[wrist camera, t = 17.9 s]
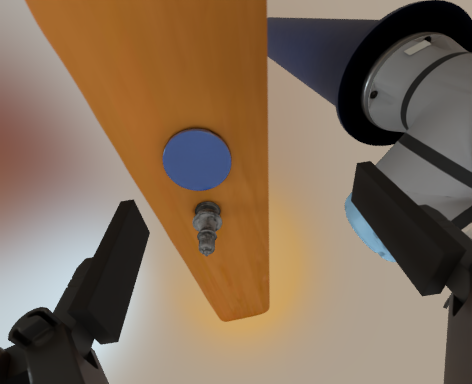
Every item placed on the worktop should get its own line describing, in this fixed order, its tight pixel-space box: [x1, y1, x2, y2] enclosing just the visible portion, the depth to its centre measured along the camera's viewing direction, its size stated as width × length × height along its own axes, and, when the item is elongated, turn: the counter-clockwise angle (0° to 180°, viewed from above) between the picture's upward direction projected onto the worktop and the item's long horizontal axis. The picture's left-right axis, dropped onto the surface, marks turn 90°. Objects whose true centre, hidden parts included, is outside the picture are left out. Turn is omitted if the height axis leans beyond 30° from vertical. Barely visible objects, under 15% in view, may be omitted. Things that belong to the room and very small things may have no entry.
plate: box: [163, 129, 231, 191], centre depth 44 cm, size 12×12×2 cm
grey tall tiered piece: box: [193, 202, 222, 256], centre depth 47 cm, size 6×6×12 cm
